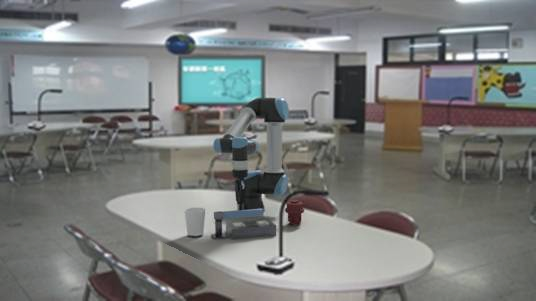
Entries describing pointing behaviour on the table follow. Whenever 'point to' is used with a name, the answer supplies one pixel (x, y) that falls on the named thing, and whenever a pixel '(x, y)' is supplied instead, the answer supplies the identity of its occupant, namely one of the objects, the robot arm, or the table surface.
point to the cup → (195, 221)
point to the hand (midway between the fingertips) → (240, 216)
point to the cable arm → (237, 214)
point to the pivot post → (218, 230)
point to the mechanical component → (294, 212)
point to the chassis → (250, 229)
